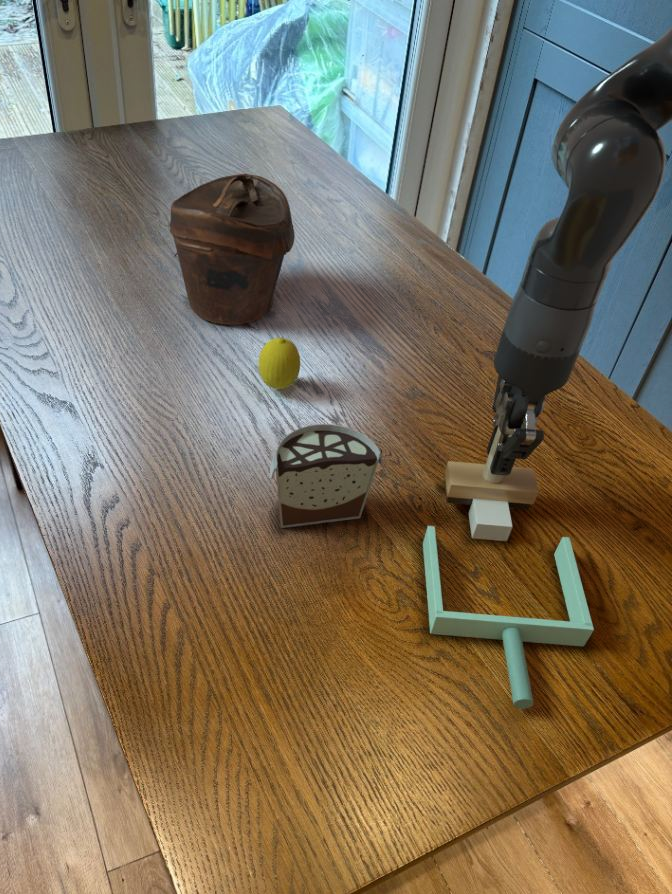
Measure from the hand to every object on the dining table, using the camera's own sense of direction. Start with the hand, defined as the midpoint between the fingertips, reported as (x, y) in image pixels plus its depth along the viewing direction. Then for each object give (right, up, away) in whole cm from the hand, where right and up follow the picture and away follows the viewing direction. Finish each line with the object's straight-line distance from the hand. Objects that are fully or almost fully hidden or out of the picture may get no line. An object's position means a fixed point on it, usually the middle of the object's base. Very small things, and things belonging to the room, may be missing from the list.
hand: (497, 463), depth 85 cm
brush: (0, -4, +4) cm, 5 cm away
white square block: (-1, -7, +2) cm, 8 cm away
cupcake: (-21, -5, +3) cm, 21 cm away
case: (-33, +27, +32) cm, 53 cm away
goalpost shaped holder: (-1, -17, -7) cm, 19 cm away
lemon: (-25, +11, +18) cm, 33 cm away
